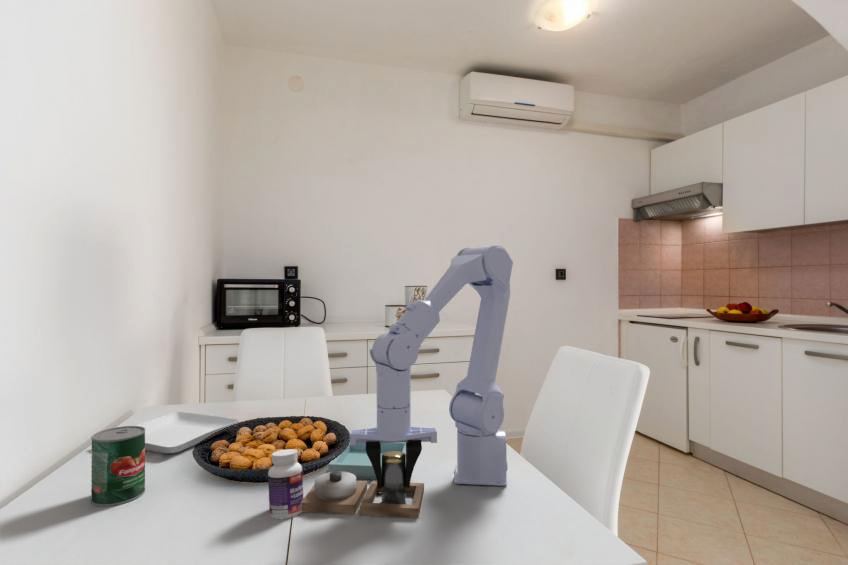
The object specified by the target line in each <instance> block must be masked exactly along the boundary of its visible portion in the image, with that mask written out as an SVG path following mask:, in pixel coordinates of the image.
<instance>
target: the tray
mask: <svg viewBox="0 0 848 565" xmlns="http://www.w3.org/2000/svg"><path fill="white" fill-rule="evenodd" d="M390 451H399V452H403V453H404V454H405V455H406V442H401V443H381V472H382V454H383V453H386V452H390ZM331 460H332V459H331ZM335 471H343V472H349V473H352V474H354V475H355V476H356V480H358V479H359V480H377V479H376V475H375V472H374V469H373V466H372V464H371V462H370V459H369V457H368V456H367V453H366V444H357V445H350V443H349V446H348V448H347V449H346V450H345V451H344V452H343V453H342V454H341V455H339V456H338V457H337V458H335V459H334V460H332V461H330V462H329V463H328V473H329V472H335Z"/></svg>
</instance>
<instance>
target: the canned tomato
mask: <svg viewBox="0 0 848 565" xmlns="http://www.w3.org/2000/svg"><path fill="white" fill-rule="evenodd" d="M90 438H91V457H90V458H91V485H90V486H91V487H90V488H91V489H90V490H91V499H90V503H91V505H93V506H96V507H100V506H101V507H102V508H105V507H106V508H107V507H113V506H114V507H115V506H120V505H123V504H127V503H131V502H132V501H133V502H134V501H135V500H137V499H139V498H140V497H141V496H143V495H144V494H145V492H146V450H145V428H144V427H140V426H134V425H126V426H117V427H112V428H108V429H104V430H100V431H98V432H96V433H94V434H92V435H91V437H90ZM101 507H100V508H101Z"/></svg>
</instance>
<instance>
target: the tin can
mask: <svg viewBox="0 0 848 565" xmlns="http://www.w3.org/2000/svg"><path fill="white" fill-rule="evenodd" d="M405 478H406V455H405V454H404V453H403V452H399V451H390V452H386V453H383V454H382V493H381V503H387V504H406V495H407V494H406V487H405Z"/></svg>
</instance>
